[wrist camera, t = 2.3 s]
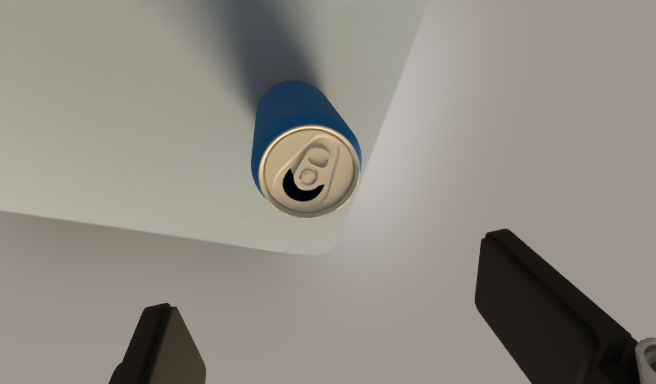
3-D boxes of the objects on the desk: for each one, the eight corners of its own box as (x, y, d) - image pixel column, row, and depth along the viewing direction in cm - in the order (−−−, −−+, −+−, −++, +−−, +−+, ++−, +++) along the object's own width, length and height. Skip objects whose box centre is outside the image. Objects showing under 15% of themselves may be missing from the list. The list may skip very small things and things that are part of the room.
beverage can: (243, 133, 29) (230, 199, 18) (277, 64, 27) (284, 93, 16) (308, 164, 31) (330, 239, 21) (344, 103, 29) (389, 151, 19)
